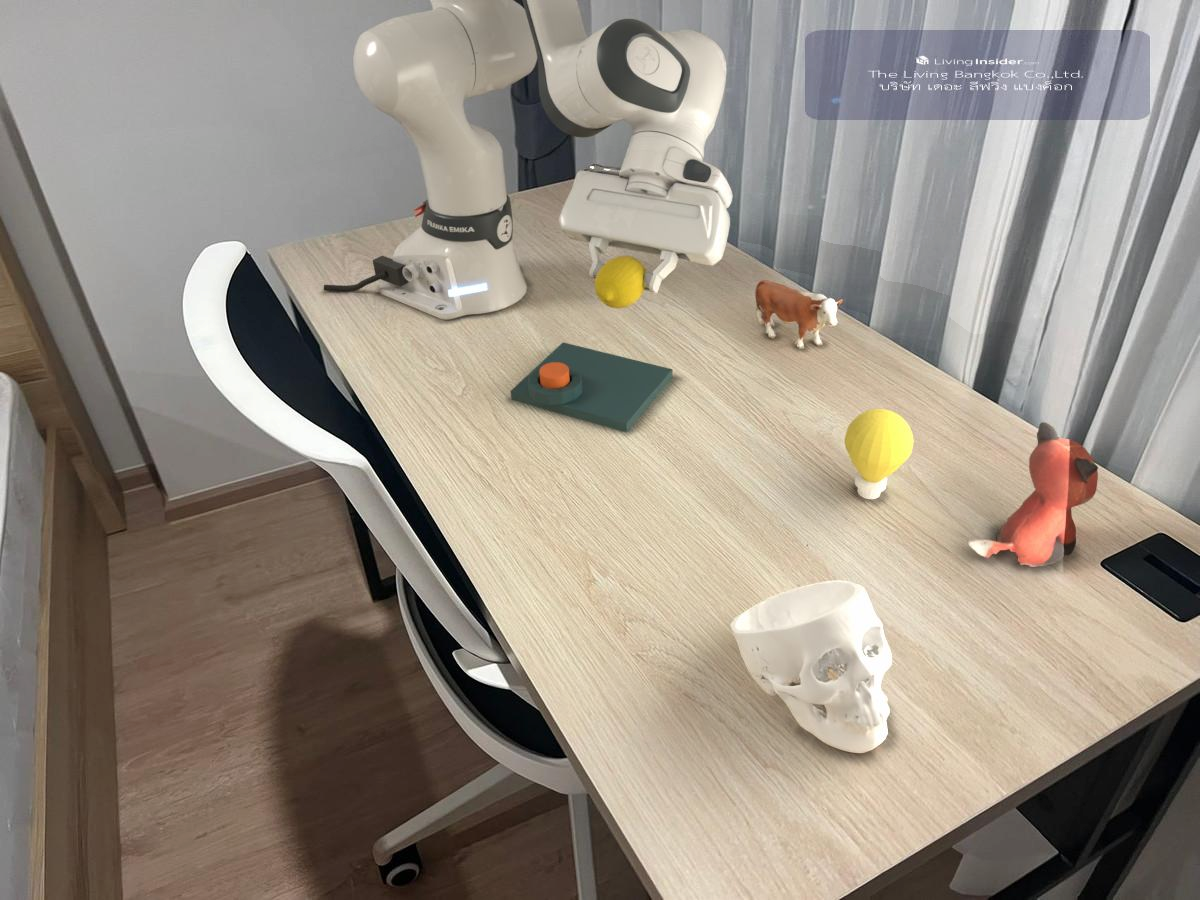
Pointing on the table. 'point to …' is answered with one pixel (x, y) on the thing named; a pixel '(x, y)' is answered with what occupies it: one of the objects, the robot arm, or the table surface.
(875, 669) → the skull bowl
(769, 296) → the bull figurine
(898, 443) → the light bulb
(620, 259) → the lemon
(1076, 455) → the stuffed fox
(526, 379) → the scale
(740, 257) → the table surface
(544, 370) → the button
